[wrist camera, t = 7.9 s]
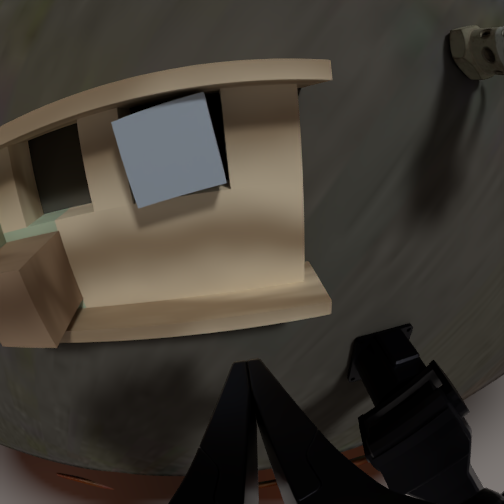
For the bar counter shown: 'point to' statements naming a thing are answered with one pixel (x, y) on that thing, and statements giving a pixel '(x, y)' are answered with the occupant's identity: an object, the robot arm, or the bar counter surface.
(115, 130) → the trapped block
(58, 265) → the walnut block
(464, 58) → the grenade model
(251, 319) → the box
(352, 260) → the bar counter surface
